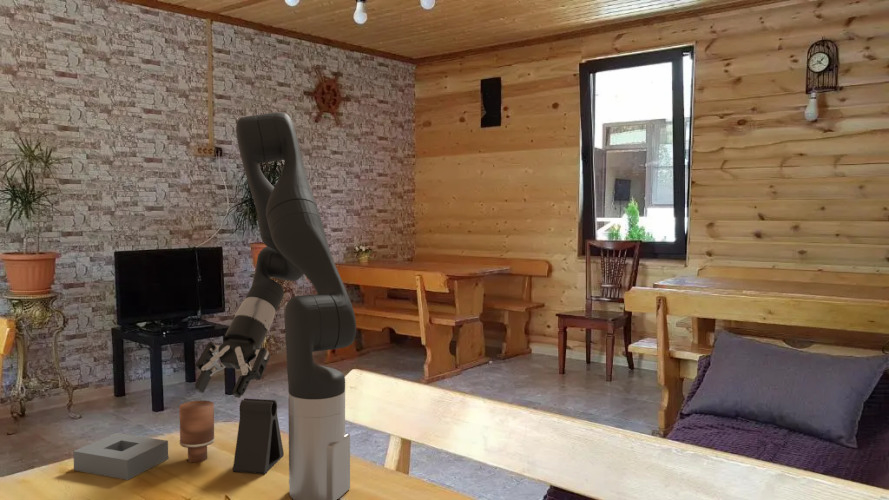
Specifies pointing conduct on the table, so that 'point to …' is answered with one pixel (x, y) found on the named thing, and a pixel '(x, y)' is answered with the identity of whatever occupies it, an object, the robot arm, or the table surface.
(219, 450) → the table surface
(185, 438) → the peg
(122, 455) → the board
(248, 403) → the phone stand
